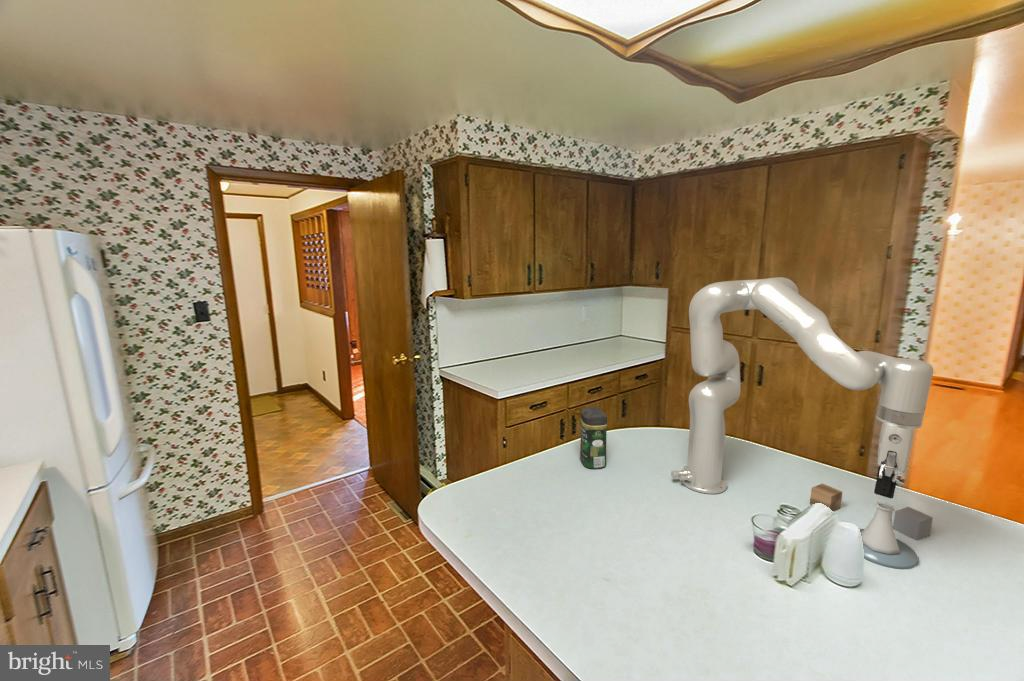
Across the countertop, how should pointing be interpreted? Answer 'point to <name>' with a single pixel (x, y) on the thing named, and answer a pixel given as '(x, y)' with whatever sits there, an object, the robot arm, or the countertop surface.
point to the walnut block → (826, 496)
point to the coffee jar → (593, 438)
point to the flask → (881, 531)
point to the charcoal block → (912, 523)
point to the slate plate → (893, 557)
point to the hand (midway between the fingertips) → (884, 486)
